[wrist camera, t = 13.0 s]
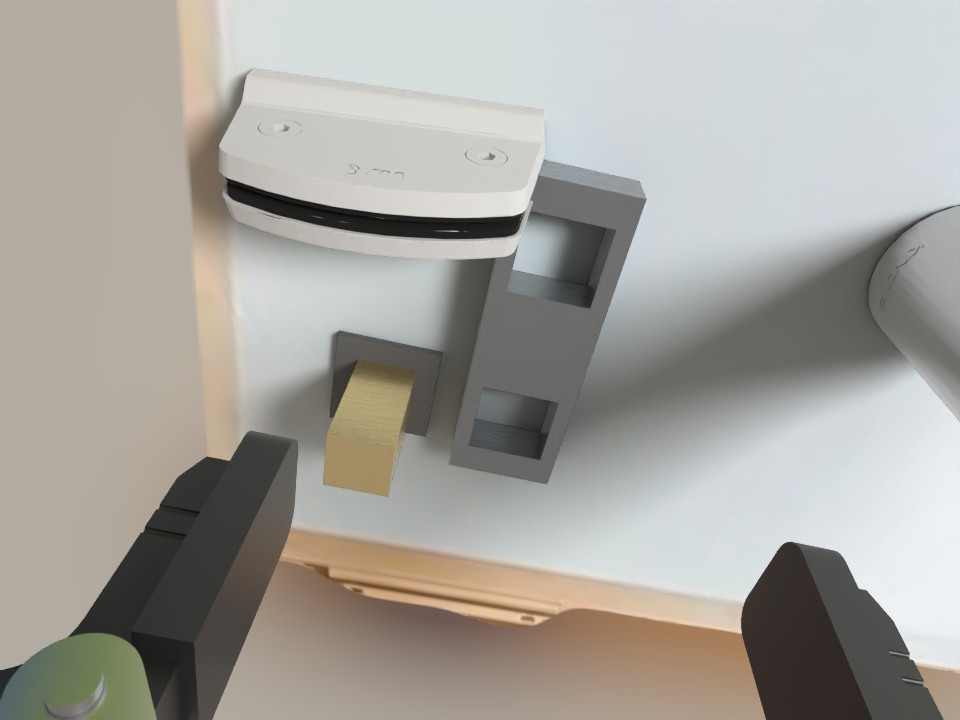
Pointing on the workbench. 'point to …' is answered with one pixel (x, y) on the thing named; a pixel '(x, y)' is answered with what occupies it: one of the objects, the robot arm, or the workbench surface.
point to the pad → (393, 355)
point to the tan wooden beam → (369, 428)
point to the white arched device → (381, 167)
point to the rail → (544, 326)
